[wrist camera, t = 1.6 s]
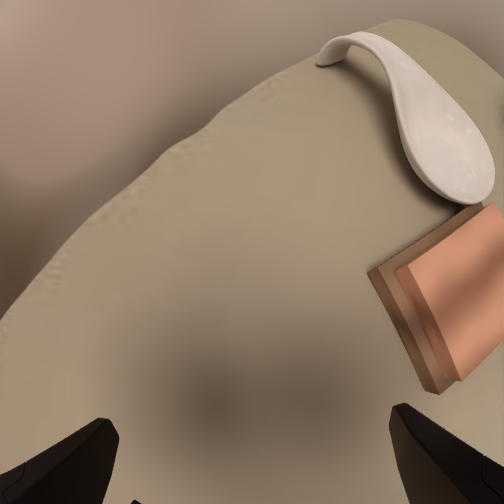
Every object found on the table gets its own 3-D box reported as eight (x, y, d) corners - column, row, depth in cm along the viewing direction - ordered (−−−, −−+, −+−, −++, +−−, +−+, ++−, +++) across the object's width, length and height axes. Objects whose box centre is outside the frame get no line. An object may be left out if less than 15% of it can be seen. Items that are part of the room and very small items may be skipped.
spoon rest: (492, 182, 26) (528, 152, 19) (444, 239, 25) (488, 211, 18) (357, 49, 32) (368, 7, 25) (289, 76, 30) (293, 26, 23)
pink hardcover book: (513, 306, 23) (544, 299, 18) (425, 390, 21) (455, 399, 17) (465, 207, 26) (492, 187, 21) (366, 273, 24) (390, 259, 19)
